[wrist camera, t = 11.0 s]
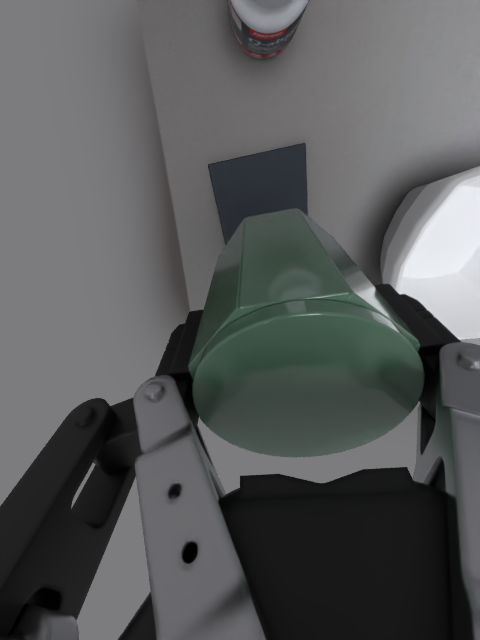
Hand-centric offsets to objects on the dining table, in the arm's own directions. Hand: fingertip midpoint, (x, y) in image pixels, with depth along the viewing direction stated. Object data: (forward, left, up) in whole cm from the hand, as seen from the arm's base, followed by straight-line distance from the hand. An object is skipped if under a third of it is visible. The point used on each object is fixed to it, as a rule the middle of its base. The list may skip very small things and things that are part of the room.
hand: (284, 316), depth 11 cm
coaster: (0, 0, -22) cm, 22 cm away
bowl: (+7, +20, -22) cm, 31 cm away
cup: (0, 0, -5) cm, 5 cm away
